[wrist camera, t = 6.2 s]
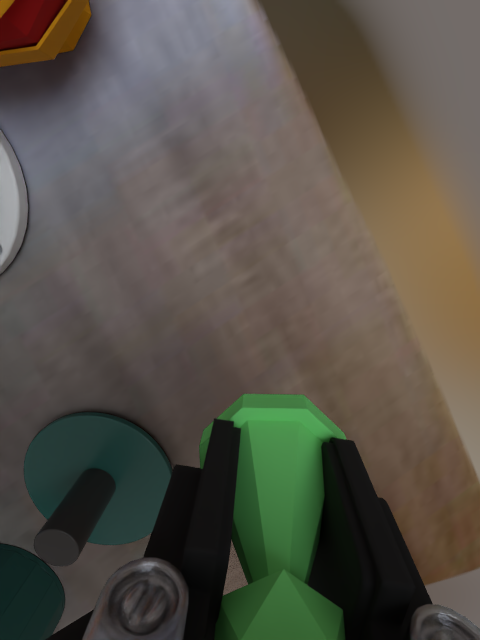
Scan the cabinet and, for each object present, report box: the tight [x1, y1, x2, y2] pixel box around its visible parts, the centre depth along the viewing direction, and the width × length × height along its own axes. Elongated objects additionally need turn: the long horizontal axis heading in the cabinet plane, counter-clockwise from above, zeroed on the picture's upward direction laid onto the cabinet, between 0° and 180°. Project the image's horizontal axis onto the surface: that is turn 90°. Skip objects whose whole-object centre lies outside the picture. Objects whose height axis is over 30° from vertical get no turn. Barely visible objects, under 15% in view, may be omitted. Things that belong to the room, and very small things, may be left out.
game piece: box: [199, 394, 346, 640], centre depth 8 cm, size 4×4×6 cm
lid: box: [24, 412, 173, 566], centre depth 25 cm, size 11×11×7 cm
